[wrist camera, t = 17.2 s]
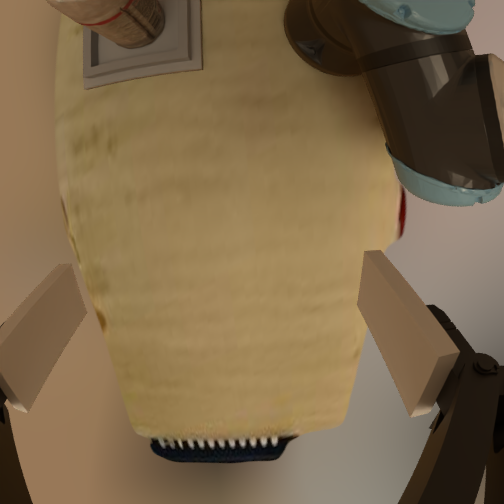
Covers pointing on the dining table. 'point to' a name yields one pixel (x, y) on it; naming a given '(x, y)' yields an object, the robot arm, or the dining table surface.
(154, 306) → the dining table surface
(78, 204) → the dining table surface
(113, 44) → the holder dock
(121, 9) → the beige textured cylinder
